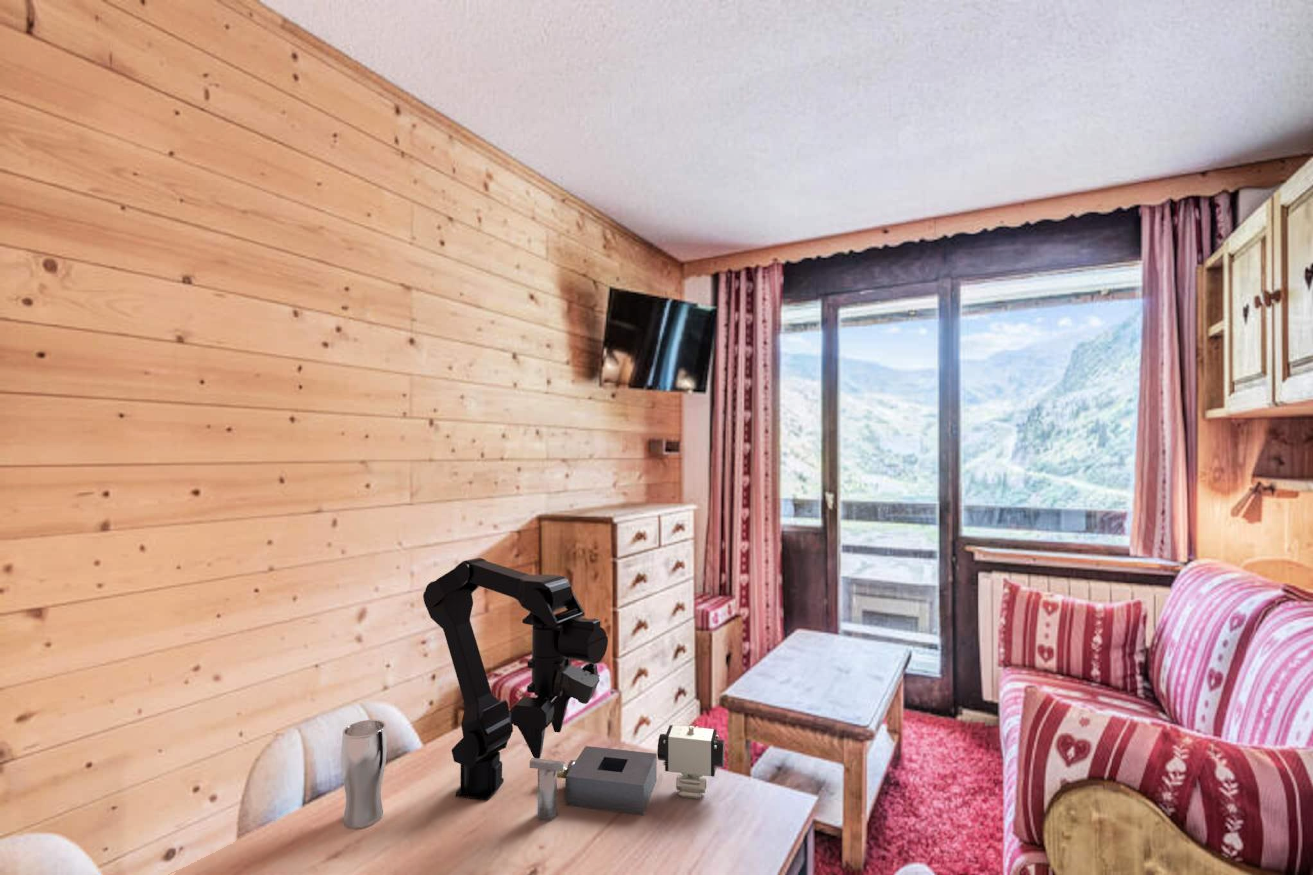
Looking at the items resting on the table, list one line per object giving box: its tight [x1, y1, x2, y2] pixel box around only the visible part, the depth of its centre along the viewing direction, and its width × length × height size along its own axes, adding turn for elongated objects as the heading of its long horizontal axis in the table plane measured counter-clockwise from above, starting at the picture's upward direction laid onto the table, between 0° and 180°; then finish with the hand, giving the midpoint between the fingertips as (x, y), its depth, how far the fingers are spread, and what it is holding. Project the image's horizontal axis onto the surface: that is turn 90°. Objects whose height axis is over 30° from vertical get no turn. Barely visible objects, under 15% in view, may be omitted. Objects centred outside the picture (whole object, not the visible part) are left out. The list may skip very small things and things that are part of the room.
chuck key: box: [529, 757, 566, 822], centre depth 102 cm, size 6×3×9 cm, turn 78°
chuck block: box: [557, 745, 658, 816], centre depth 110 cm, size 20×11×5 cm, turn 78°
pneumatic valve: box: [656, 724, 726, 800], centre depth 110 cm, size 6×12×12 cm, turn 78°
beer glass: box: [340, 719, 388, 830], centre depth 102 cm, size 7×7×15 cm
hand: (547, 744), depth 103 cm, fingers open, 9 cm apart
